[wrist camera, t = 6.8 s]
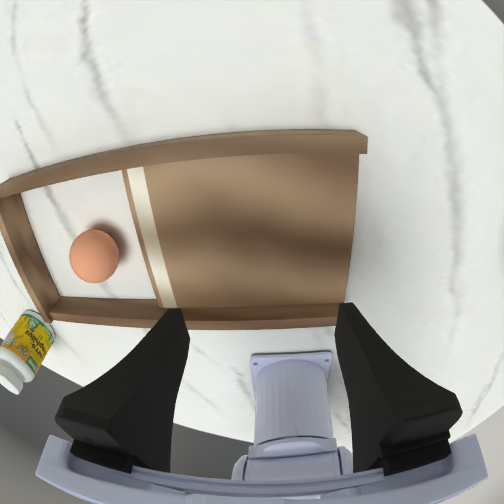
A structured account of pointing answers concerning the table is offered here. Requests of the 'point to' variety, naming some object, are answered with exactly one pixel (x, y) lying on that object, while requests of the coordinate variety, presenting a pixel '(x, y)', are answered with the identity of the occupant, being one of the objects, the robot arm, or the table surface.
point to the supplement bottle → (24, 350)
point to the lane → (216, 229)
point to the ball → (94, 256)
